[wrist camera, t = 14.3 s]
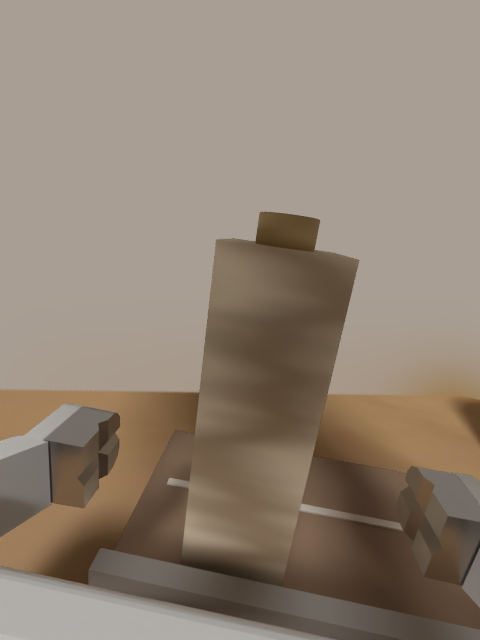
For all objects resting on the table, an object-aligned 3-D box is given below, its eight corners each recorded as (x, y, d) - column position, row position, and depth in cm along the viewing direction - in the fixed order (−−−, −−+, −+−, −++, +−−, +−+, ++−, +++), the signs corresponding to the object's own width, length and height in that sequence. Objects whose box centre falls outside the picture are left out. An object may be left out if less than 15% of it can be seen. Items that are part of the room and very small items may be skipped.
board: (8, 807, 8) (-2, 730, 7) (172, 454, 22) (176, 410, 21) (936, 1067, 7) (1073, 1014, 6) (497, 516, 20) (517, 473, 19)
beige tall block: (179, 573, 12) (220, 202, 8) (205, 481, 17) (239, 214, 13) (279, 595, 12) (368, 222, 8) (278, 496, 17) (334, 227, 13)
